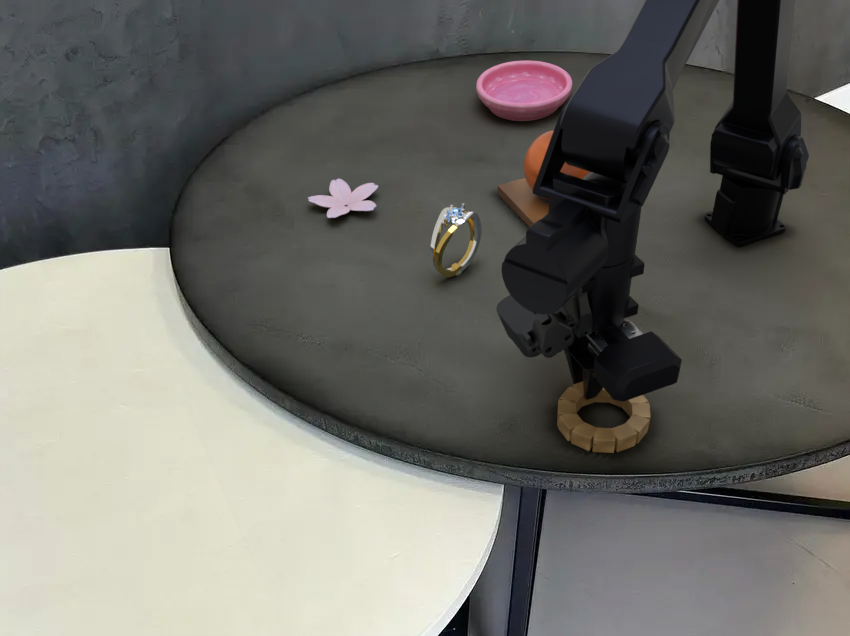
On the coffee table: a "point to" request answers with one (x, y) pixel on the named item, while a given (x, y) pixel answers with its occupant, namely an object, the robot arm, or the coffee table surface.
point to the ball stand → (532, 183)
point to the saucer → (524, 89)
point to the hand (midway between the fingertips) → (584, 391)
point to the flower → (345, 198)
